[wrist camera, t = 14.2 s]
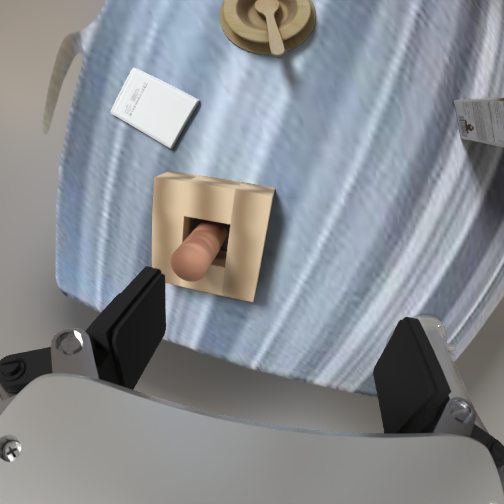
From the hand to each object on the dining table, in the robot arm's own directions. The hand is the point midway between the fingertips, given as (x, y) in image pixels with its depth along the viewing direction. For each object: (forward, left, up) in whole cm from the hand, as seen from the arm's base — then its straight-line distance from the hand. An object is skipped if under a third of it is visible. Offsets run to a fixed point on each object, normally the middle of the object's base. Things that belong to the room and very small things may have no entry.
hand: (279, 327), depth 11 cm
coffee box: (-27, -17, -32) cm, 46 cm away
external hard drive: (+22, -8, -33) cm, 40 cm away
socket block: (+10, +10, -32) cm, 35 cm away
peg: (+10, +10, -32) cm, 35 cm away
